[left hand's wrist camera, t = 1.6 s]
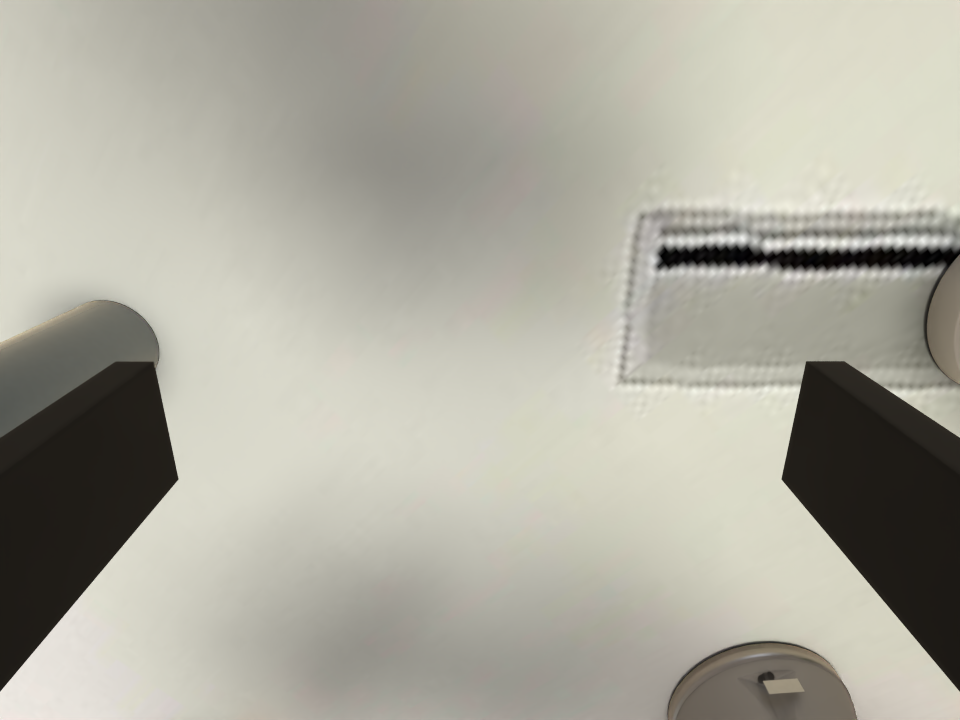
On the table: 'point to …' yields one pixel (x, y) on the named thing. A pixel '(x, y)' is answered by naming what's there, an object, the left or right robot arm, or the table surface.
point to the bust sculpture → (946, 323)
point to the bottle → (67, 356)
